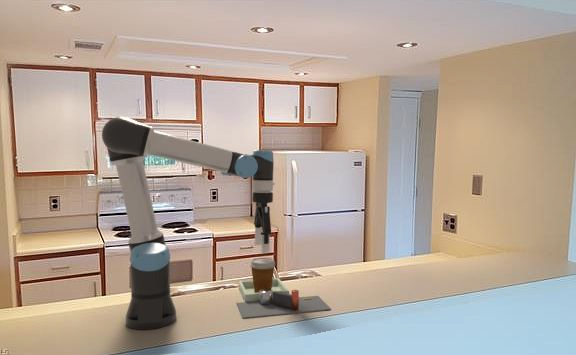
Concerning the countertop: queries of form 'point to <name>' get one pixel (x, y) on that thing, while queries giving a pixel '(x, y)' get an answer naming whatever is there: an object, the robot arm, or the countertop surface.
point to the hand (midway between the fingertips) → (261, 248)
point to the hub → (268, 297)
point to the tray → (250, 295)
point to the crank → (287, 299)
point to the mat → (281, 308)
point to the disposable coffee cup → (262, 273)
